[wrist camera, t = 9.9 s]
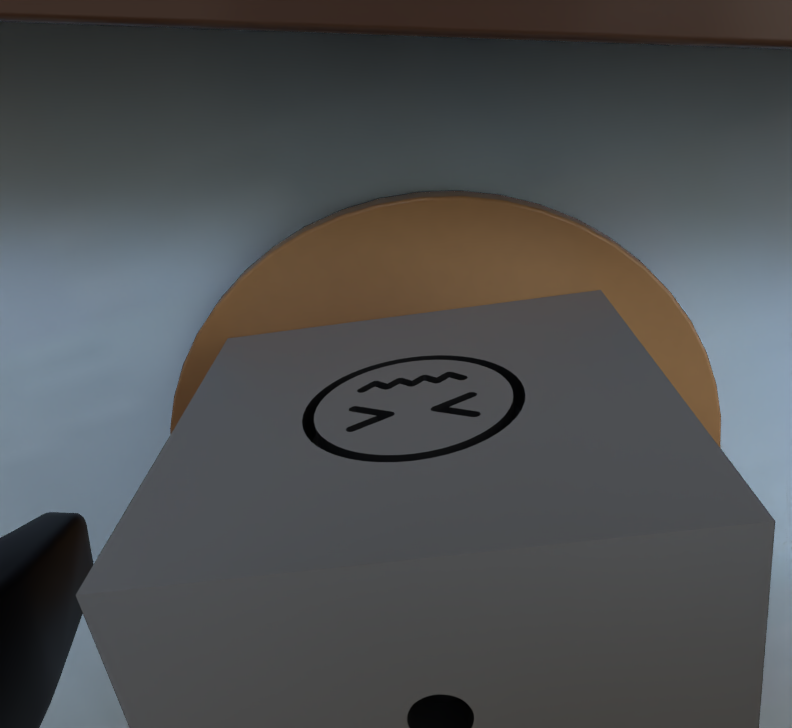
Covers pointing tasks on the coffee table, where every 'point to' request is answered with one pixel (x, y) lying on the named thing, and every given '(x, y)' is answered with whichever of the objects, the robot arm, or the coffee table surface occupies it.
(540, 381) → the dice cube
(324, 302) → the coaster
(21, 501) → the coffee table surface
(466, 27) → the holder
